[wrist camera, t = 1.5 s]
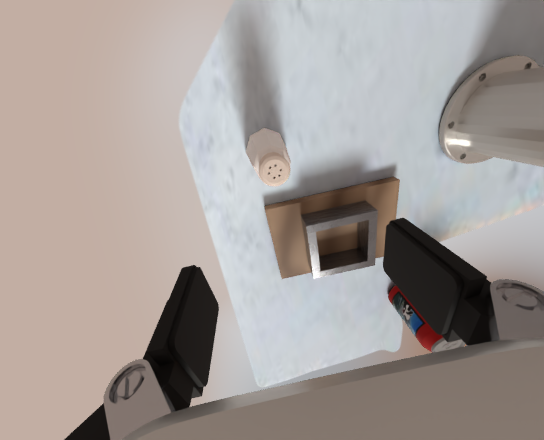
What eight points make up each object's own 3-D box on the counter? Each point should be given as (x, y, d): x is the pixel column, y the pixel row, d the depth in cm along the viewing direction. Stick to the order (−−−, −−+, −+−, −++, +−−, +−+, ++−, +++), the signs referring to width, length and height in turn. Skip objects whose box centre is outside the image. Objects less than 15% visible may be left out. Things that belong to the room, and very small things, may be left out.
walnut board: (393, 176, 31) (399, 179, 30) (387, 249, 38) (391, 254, 37) (264, 206, 32) (265, 210, 30) (280, 273, 38) (281, 278, 37)
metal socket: (365, 200, 31) (377, 210, 28) (364, 251, 36) (374, 265, 33) (300, 214, 31) (306, 226, 28) (308, 264, 36) (313, 278, 33)
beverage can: (380, 289, 43) (423, 348, 33) (410, 272, 42) (465, 328, 31) (393, 305, 46) (435, 363, 36) (421, 289, 44) (475, 345, 34)
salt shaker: (237, 152, 28) (230, 176, 18) (263, 117, 26) (271, 123, 16) (268, 177, 30) (277, 211, 20) (294, 146, 28) (318, 167, 18)
